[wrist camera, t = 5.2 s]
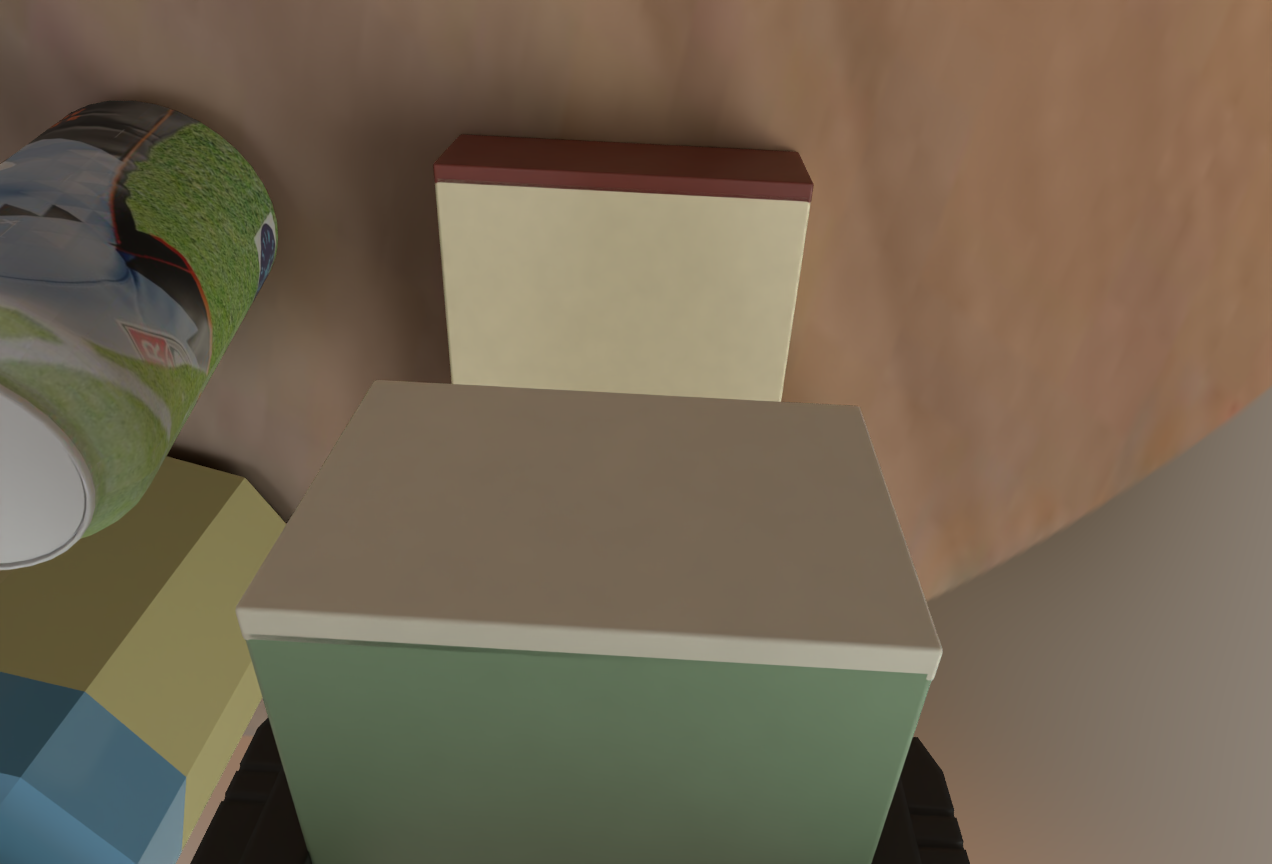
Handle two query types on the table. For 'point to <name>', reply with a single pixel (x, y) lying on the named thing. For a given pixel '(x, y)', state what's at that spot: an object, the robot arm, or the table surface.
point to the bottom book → (620, 265)
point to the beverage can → (114, 309)
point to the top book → (592, 632)
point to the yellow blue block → (129, 674)
